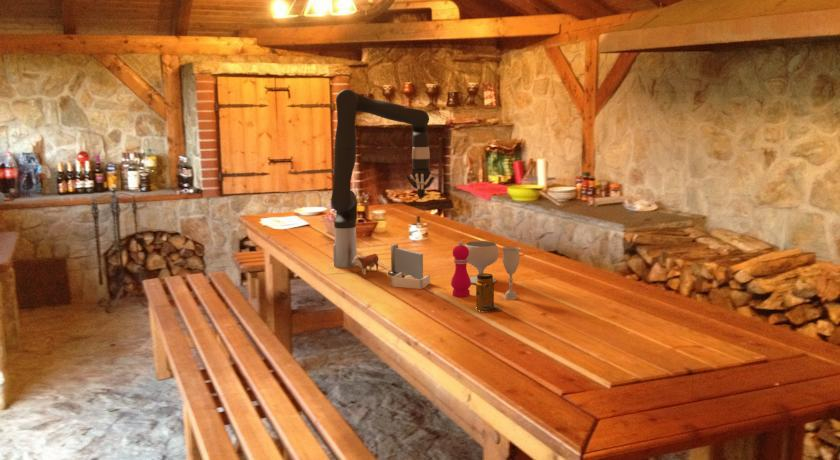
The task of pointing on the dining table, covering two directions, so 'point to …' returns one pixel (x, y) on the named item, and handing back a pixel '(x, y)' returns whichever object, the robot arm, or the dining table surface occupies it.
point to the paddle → (406, 262)
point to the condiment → (485, 293)
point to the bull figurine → (366, 262)
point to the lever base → (392, 273)
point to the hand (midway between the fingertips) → (421, 197)
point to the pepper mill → (461, 272)
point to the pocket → (409, 281)
